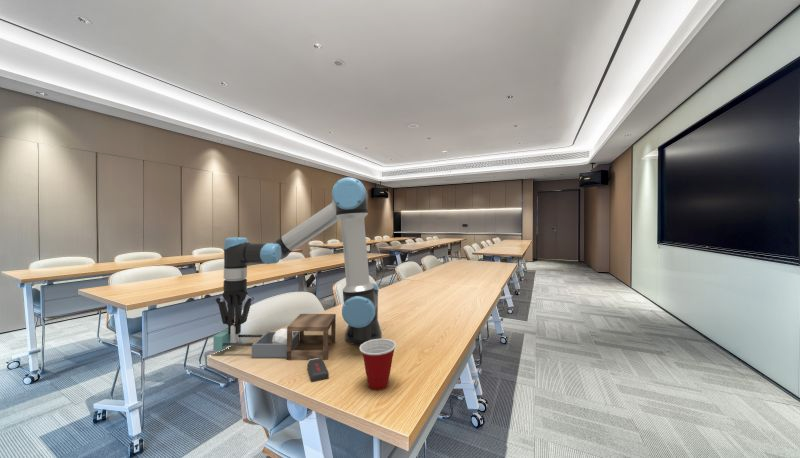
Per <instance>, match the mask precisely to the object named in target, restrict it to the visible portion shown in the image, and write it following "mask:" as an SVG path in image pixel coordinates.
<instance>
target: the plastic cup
mask: <svg viewBox="0 0 800 458" xmlns="http://www.w3.org/2000/svg"><path fill="white" fill-rule="evenodd" d="M396 347H397V343H396V342H395V341H394V340H392V339H390V338H389V339H387V338H381V339H374V340H369V341H367V342H364V343H363V344H361V345H359V351H360V353H361V354H362V357H363V363H364V364H363V365H364V369H365V375H366V380H367V385H369V386H368V388H370V389H371V390H373V389H374V391H380V390H384V389H387V387H388V384H389V380H390V375H391V370H392V363H393V358H394V353H395V349H396Z"/></svg>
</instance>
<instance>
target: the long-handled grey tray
mask: <svg viewBox="0 0 800 458" xmlns="http://www.w3.org/2000/svg"><path fill="white" fill-rule="evenodd" d="M292 332H293V335H294V336H293V337H292V350H296V348H297V347H298V345H299V344H300V343H299V332H300V331H292ZM275 333H276V331H266V332H264V334H238V338H258V339H256V340H255V341H254V342H236V343H230V335H231V334H229V333H228V327H227V328H225V329H223V330H221V331H220V332H218V333H217V334H215V335H214V336H213V340H212V341H213V343H212V344H213V347H212V349H213V351H218V352H219V351H224V350H225V349H227V347H249V346H250V347H251V358H287V344H273V343H272V339H273V335H274V334H275Z"/></svg>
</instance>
